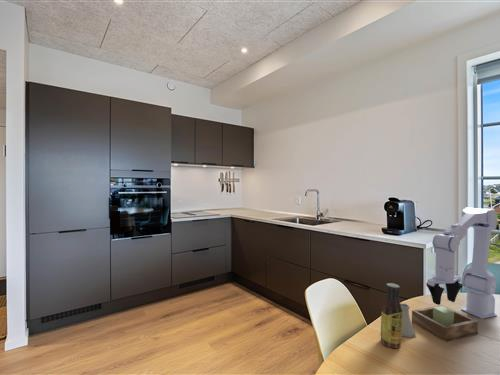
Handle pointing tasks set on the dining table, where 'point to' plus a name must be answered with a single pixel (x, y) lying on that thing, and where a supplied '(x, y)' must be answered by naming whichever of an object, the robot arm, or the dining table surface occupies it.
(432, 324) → the walnut crate
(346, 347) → the dining table surface
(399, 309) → the sauce bottle
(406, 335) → the flask
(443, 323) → the green block
